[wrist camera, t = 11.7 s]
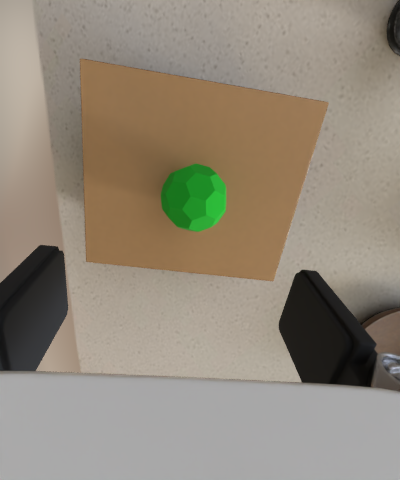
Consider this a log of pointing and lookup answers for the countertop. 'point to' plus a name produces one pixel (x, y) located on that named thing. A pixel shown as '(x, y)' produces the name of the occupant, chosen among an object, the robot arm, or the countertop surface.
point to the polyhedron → (194, 197)
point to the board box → (185, 154)
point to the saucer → (385, 331)
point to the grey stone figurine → (394, 29)
